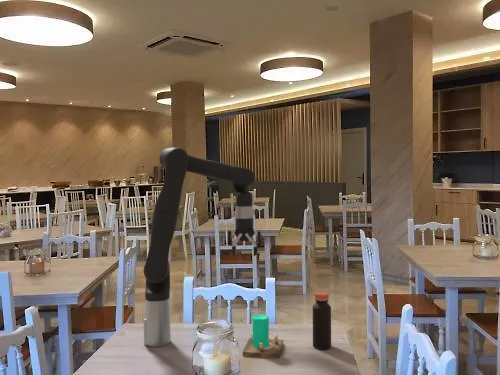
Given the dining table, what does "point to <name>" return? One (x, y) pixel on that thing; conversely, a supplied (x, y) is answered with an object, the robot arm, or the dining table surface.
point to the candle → (260, 330)
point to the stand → (264, 349)
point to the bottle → (321, 322)
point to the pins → (262, 343)
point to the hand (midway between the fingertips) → (244, 255)
